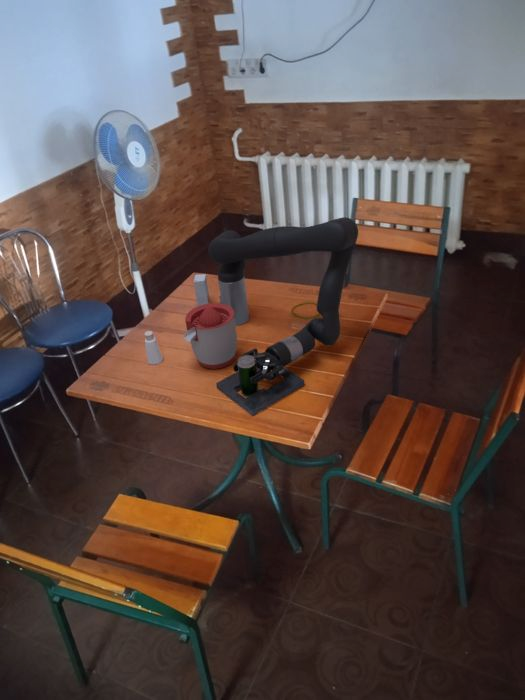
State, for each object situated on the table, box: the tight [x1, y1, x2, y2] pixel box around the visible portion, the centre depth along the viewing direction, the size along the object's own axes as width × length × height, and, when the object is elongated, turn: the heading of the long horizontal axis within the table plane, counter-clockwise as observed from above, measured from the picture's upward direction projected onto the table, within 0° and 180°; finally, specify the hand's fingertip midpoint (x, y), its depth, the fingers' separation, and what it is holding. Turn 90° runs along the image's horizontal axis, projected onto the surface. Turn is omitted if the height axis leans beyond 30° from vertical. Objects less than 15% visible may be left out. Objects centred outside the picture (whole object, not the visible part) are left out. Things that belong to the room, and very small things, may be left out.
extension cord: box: [291, 302, 321, 320], centre depth 205 cm, size 12×16×2 cm
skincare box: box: [193, 273, 211, 307], centre depth 213 cm, size 6×4×12 cm
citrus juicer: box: [183, 302, 238, 370], centre depth 179 cm, size 16×17×20 cm
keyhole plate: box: [215, 366, 305, 417], centre depth 170 cm, size 20×18×2 cm
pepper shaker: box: [143, 330, 164, 366], centre depth 185 cm, size 5×5×11 cm
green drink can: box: [236, 355, 260, 398], centre depth 165 cm, size 5×5×12 cm
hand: (242, 375), depth 163 cm, fingers open, 8 cm apart
